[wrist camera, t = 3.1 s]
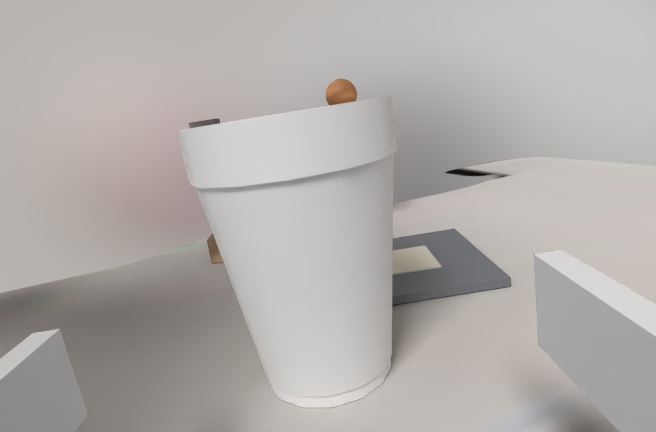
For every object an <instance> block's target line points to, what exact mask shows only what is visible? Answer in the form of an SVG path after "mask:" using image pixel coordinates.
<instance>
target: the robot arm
mask: <svg viewBox="0 0 656 432" xmlns="http://www.w3.org/2000/svg"><path fill="white" fill-rule="evenodd" d="M534 272H535V292H536V311H537V331H538V345H539V346H540V347H541V348H542V350H543V351H544V352H545V353H546V354H547V355H548V356H549V357H550V358H551V359H552V360H553V361H554V362H555V363H556V364H557V366H558V367H559V368H560V369H561V370H562V371H563V372H564V373H565V374H566V375H567V376H568V377H569V378H570V379H571V381H572V382H573V383H574V384H575V385H576V386H577V387H578V388H579V389H580V390H581V391H582V392H583V393H584V394H585V395H586V397H587V398H588V399H589V400H590V401H591V402H592V403H593V404H594V405H595V406H596V407H597V408H598V409H599V410H600V412H601V413H602V414H603V415H604V416H605V417H606V418H607V419H608V420H609V421H610V422H611V423H612V424H613V425H614V426H615V428H616V429H617V430H618V431H619V432H656V304H654V303H653V302H651V301H649V300H647V299H646V298H644V297H642V296H640V295H639V294H637V293H635V292H633V291H632V290H630V289H628V288H627V287H625V286H623V285H621V284H620V283H618V282H616V281H614V280H613V279H611V278H609V277H608V276H606V275H604V274H602V273H601V272H599V271H597V270H595V269H594V268H592V267H590V266H589V265H587V264H585V263H583V262H582V261H580V260H578V259H576V258H575V257H573V256H571V255H570V254H568V253H566V252H564V251H563V250H558V251H552V252H545V253H539V254H534ZM87 415H88V413H87V410H86V406H85V403H84V400H83V397H82V394H81V391H80V388H79V385H78V382H77V379H76V376H75V373H74V370H73V367H72V364H71V361H70V358H69V355H68V352H67V349H66V346H65V343H64V340H63V337H62V334H61V331H60V329H55V330H49V331H42V332H36V333H32V334H31V335H30V336H28V337H27V338H26V339H25V340H23V341H22V342H21V343H19V344H18V345H17V346H16V347H14V348H13V349H12V350H11V351H9V352H8V353H7V354H6V355H4V356H3V357H2V358H0V432H75V431H76V430H77V429H78V427H79V426H80V425H81V423H82V422H83V421H84V419H85V418H86V417H87Z"/></svg>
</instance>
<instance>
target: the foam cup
mask: <svg viewBox="0 0 656 432" xmlns="http://www.w3.org/2000/svg"><path fill="white" fill-rule="evenodd" d="M177 133H178V137H179V142H180V145H181V150H182V155H183V159H184V163H185V167H186V172H187V176H188V180H189V184H191V185H193V186H195V187H196V190H197V192H198V195H199V198H200V201H201V203H202V206H203V209H204V211H205V214H206V217H207V219H208V222H209V224H210V227H211V230H212V233H213V235H214V238H215V241H216V243H217V246H218V249H219V251H220V254H221V257H222V259H223V262H224V265H225V267H226V270H227V273H228V275H229V278H230V281H231V284H232V286H233V289H234V292H235V294H236V297H237V300H238V302H239V305H240V308H241V310H242V313H243V316H244V318H245V321H246V324H247V326H248V329H249V332H250V334H251V337H252V340H253V342H254V345H255V348H256V350H257V353H258V356H259V358H260V361H261V364H262V366H263V369H264V372H265V374H266V376H267V377H268V379H269V384H270V386H271V387H272V389H273V390H274V392H275V393H276V395H277V396H278V397H279V399H281V400H284V401H286V402H289V403H291V404H294V405H297V406H299V407H302V408H327V407H335V406H339V405H342V404H345V403H348V402H352V401H355V400H358V399H362V398H363V397H364V396H366V395H367V394H369V393H370V392H371V391H373V390H374V389H376V388H377V387H378V386H380V385H381V384H383V382H384V380H385V378H386V376H387V374H388V372H389V370H390V368H391V359H390V357H391V355H392V248H393V153H394V152H396V151H397V141H396V134H395V125H394V117H393V108H392V100H391V96H386V97H380V98H373V99H367V100H361V101H355V102H349V103H342V104H336V105H330V106H324V107H318V108H312V109H305V110H300V111H293V112H287V113H281V114H275V115H268V116H262V117H256V118H250V119H244V120H238V121H231V122H225V123H219V124H213V125H207V126H201V127H195V128H189V129H183V130H177Z"/></svg>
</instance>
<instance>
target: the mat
mask: <svg viewBox="0 0 656 432" xmlns="http://www.w3.org/2000/svg"><path fill="white" fill-rule="evenodd" d="M510 286H511V278H510V277H509V276H508V275H507V274H506V273H505V272H503V271H502V270H501V269H500V268H499V267H498V266H497V265H495V264H494V263H493V262H492V261H491V260H490V259H489V258H487V257H486V256H485V255H484V254H483V253H482V252H480V251H479V250H478V249H477V248H476V247H475V246H474V245H472V244H471V243H470V242H469V241H468V240H467V239H466V238H464V237H463V236H462V235H461V234H460V233H459V232H458V231H456V230H455V229H450V230H444V231H437V232H431V233H425V234H418V235H412V236H406V237H399V238H393V248H392V305H395V304H402V303H408V302H414V301H421V300H427V299H433V298H440V297H446V296H453V295H459V294H465V293H472V292H478V291H484V290H491V289H497V288H504V287H510Z"/></svg>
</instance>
